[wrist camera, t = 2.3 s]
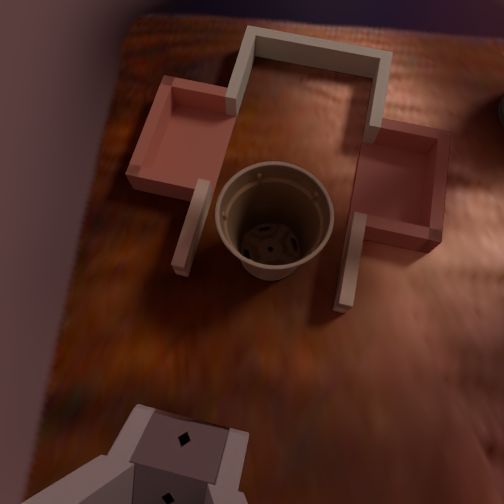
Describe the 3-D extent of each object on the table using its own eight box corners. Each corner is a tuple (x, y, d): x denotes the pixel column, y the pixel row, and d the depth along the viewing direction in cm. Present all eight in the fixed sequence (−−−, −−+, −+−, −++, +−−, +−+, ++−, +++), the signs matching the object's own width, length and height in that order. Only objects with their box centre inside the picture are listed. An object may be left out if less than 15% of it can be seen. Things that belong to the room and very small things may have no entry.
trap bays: (428, 253, 41) (441, 242, 38) (133, 189, 43) (125, 174, 40) (438, 148, 45) (450, 131, 42) (168, 94, 47) (163, 75, 45)
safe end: (372, 144, 45) (381, 127, 42) (226, 115, 47) (224, 96, 44) (384, 72, 49) (392, 52, 46) (247, 46, 50) (247, 25, 47)
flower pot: (202, 242, 41) (191, 202, 33) (276, 190, 43) (282, 141, 35) (261, 317, 39) (264, 293, 31) (337, 258, 41) (359, 222, 33)
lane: (345, 313, 39) (352, 306, 36) (176, 274, 40) (170, 264, 37) (359, 227, 42) (367, 214, 39) (201, 193, 43) (198, 178, 40)
